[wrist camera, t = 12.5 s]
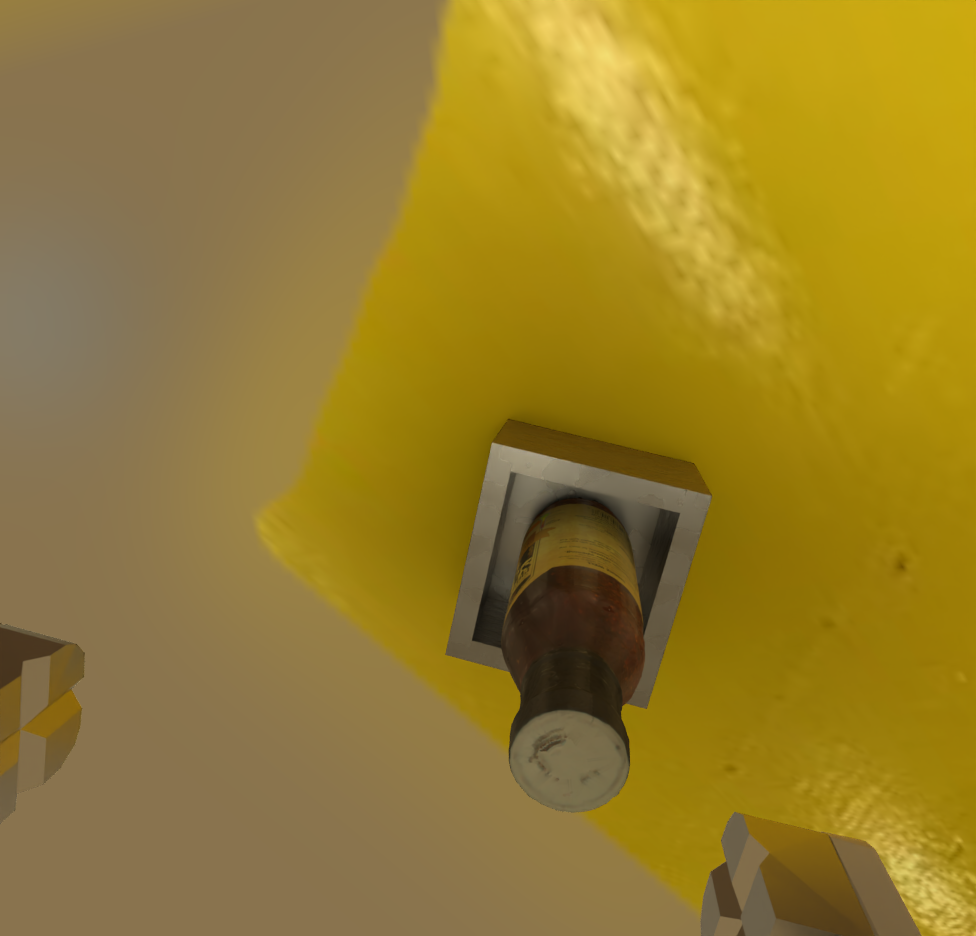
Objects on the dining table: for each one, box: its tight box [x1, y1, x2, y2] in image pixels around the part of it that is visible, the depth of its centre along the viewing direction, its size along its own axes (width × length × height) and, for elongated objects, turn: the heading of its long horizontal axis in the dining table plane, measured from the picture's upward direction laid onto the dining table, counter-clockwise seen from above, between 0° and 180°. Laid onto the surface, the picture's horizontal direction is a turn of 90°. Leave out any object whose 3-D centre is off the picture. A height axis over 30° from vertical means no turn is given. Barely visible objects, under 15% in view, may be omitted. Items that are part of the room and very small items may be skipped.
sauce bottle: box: [501, 498, 645, 812], centre depth 34 cm, size 6×6×20 cm
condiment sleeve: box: [445, 419, 712, 709], centre depth 41 cm, size 11×12×7 cm
